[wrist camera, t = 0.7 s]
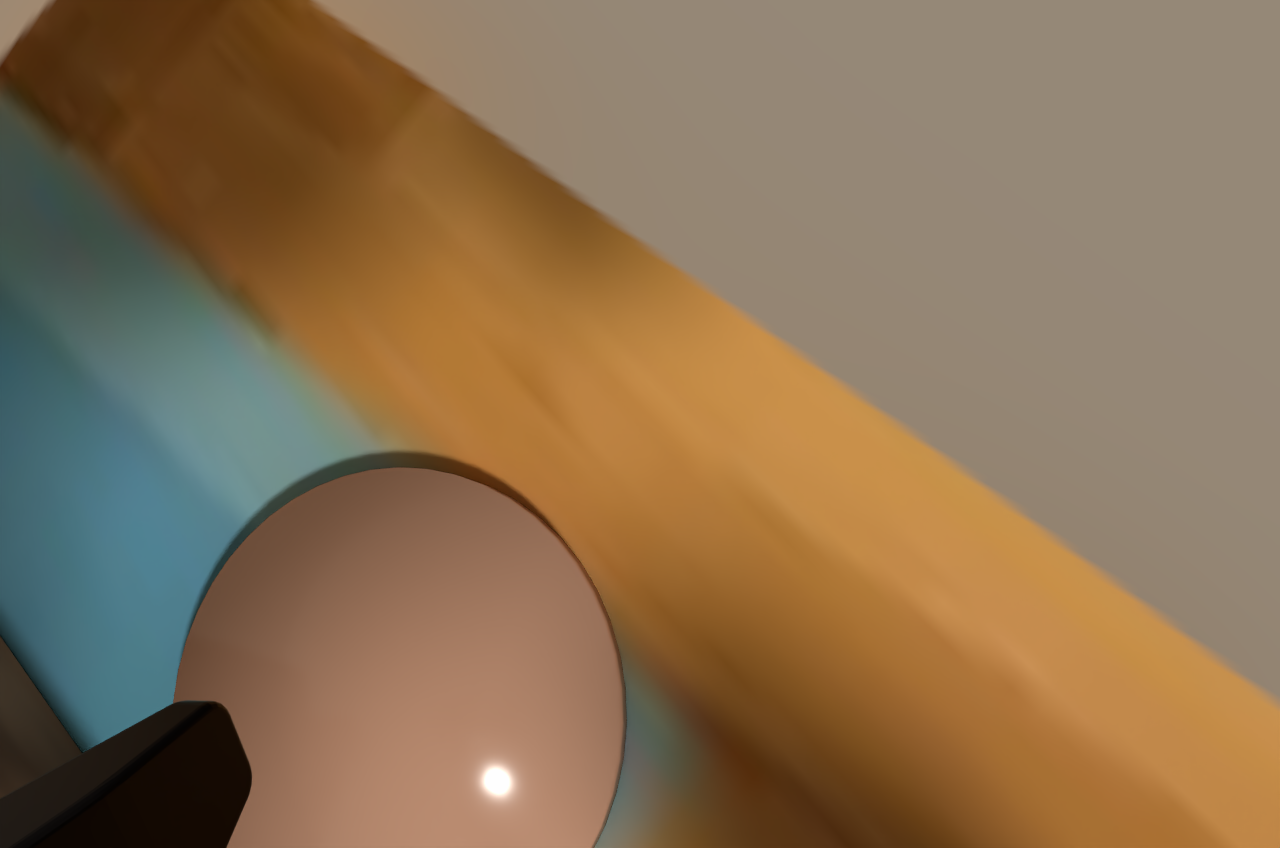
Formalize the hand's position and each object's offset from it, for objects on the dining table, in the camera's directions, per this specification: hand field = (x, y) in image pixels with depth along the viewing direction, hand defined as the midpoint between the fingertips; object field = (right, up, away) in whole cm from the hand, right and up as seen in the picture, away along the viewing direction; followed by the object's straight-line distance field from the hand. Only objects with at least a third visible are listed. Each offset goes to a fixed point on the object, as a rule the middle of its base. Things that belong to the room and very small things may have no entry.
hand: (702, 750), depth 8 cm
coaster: (-7, -4, +16) cm, 18 cm away
